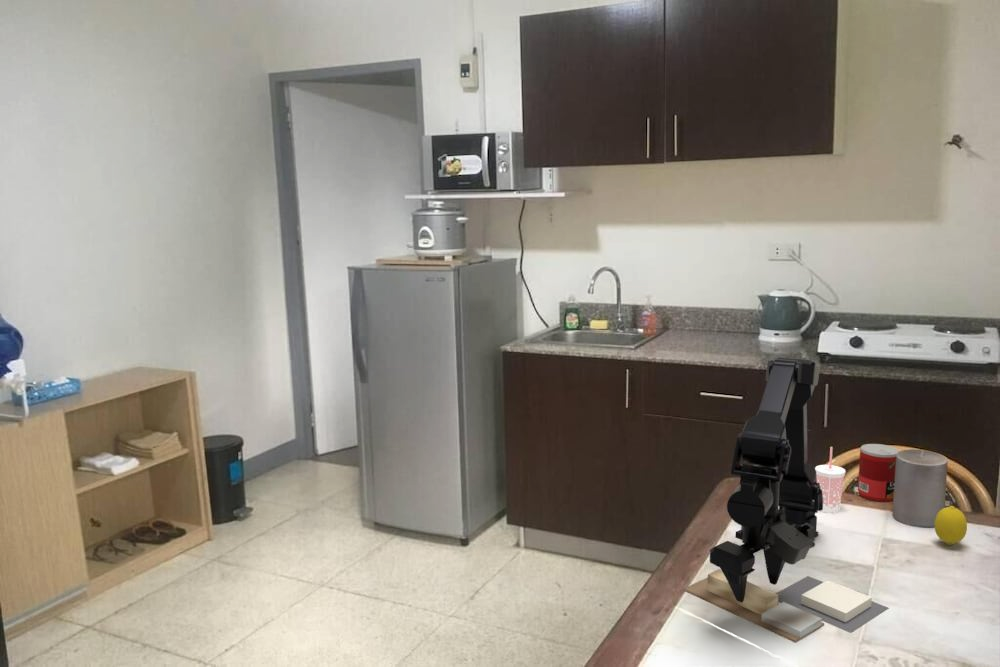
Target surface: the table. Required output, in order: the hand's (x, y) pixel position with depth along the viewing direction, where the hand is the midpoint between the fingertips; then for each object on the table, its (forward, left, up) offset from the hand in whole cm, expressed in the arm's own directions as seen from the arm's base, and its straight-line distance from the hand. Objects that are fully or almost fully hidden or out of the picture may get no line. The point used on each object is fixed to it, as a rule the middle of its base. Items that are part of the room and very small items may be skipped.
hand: (756, 592), depth 140 cm
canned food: (-13, +64, -4) cm, 65 cm away
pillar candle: (-1, +58, -4) cm, 58 cm away
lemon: (+9, +50, -4) cm, 51 cm away
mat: (+7, +11, -4) cm, 13 cm away
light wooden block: (+1, 0, -3) cm, 3 cm away
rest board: (-1, 0, -4) cm, 4 cm away
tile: (+4, +11, -2) cm, 12 cm away
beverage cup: (-16, +49, -4) cm, 52 cm away
